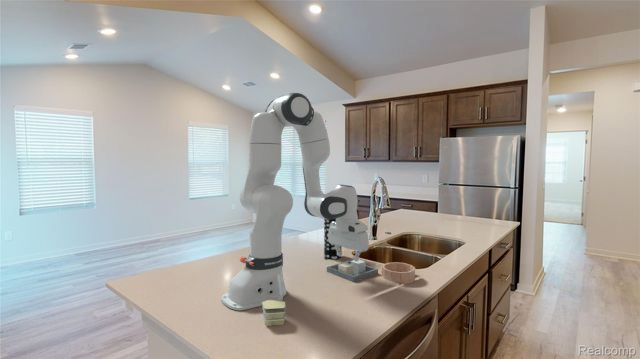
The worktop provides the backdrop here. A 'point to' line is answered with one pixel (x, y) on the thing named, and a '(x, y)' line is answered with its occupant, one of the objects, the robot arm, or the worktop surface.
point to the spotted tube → (328, 247)
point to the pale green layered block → (273, 312)
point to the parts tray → (357, 276)
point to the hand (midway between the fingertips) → (347, 258)
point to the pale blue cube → (359, 266)
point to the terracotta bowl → (398, 272)
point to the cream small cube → (346, 268)
